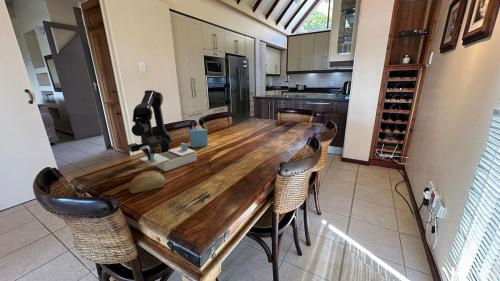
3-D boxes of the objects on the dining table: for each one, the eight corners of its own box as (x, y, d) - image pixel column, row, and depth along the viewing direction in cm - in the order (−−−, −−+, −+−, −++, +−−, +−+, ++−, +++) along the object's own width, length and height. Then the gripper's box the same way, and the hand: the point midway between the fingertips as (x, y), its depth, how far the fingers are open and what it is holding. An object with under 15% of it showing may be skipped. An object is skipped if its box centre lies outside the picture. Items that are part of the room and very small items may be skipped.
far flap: (168, 151, 126) (167, 144, 125) (182, 147, 133) (181, 140, 132) (181, 156, 117) (180, 148, 116) (195, 151, 124) (194, 144, 123)
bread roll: (129, 189, 94) (125, 173, 91) (164, 180, 101) (161, 165, 99) (130, 199, 86) (127, 181, 84) (168, 188, 94) (166, 172, 91)
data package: (207, 144, 156) (205, 128, 153) (207, 145, 152) (206, 129, 149) (190, 145, 153) (188, 130, 149) (191, 147, 149) (189, 131, 145)
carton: (152, 164, 120) (151, 156, 119) (183, 154, 135) (182, 147, 133) (165, 171, 111) (164, 162, 109) (196, 160, 125) (196, 152, 124)
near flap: (140, 159, 114) (138, 151, 113) (157, 154, 121) (155, 147, 120) (151, 165, 105) (150, 157, 104) (169, 160, 112) (168, 152, 111)
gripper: (133, 137, 95) (139, 168, 100) (170, 129, 109) (174, 157, 113) (124, 133, 102) (130, 163, 107) (160, 126, 116) (164, 153, 120)
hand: (150, 159), depth 111 cm, fingers closed on near flap
